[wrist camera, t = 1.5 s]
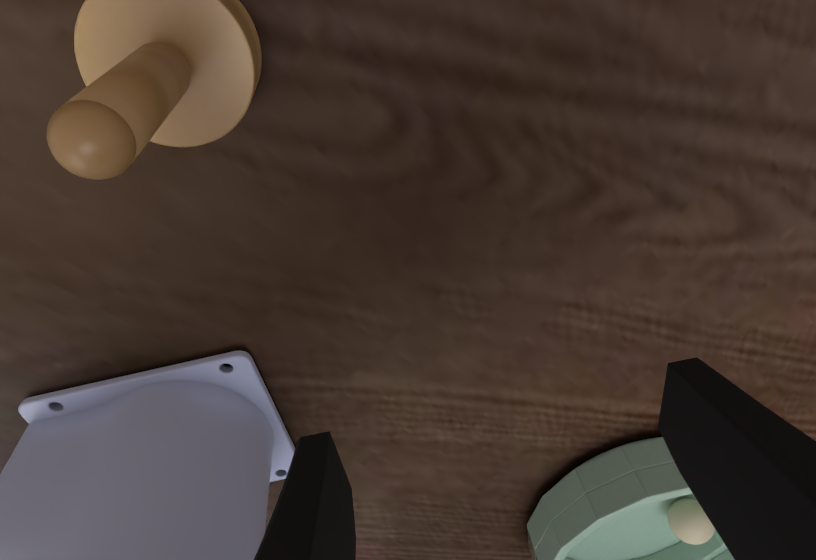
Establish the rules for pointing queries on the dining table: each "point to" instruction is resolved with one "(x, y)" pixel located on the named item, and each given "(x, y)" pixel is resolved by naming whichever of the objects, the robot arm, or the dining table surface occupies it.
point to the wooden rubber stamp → (154, 80)
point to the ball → (689, 522)
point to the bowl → (617, 510)
